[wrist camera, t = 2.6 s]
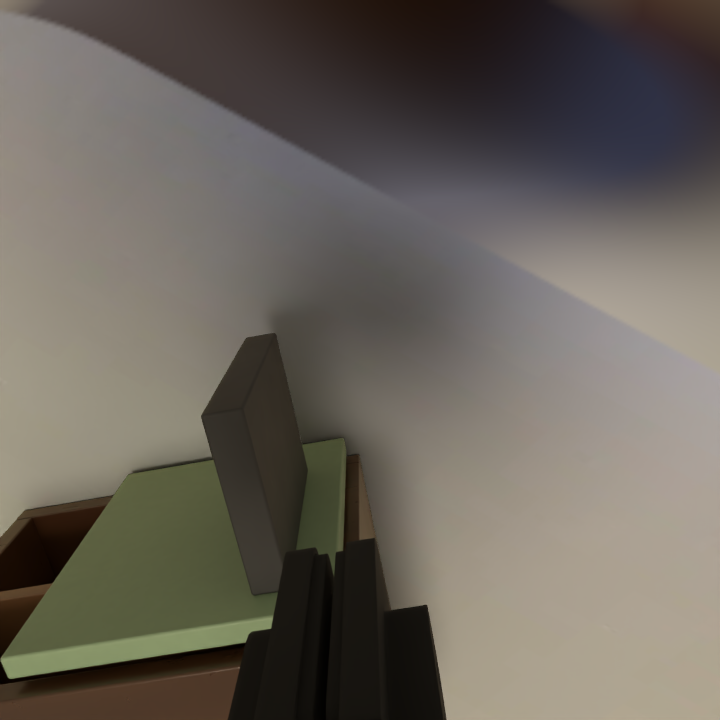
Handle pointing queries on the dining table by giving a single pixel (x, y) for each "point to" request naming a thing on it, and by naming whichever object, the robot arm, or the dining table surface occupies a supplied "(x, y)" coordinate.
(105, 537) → the sliding door
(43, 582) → the cupboard
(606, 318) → the dining table surface
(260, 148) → the dining table surface
